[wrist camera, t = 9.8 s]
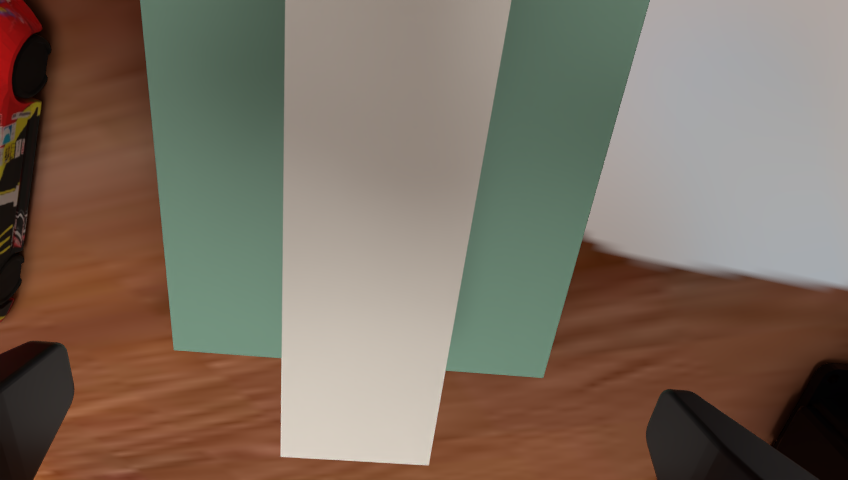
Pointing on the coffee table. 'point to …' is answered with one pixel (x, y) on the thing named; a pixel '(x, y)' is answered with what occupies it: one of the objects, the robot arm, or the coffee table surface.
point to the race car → (17, 133)
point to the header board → (264, 164)
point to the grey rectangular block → (378, 214)
